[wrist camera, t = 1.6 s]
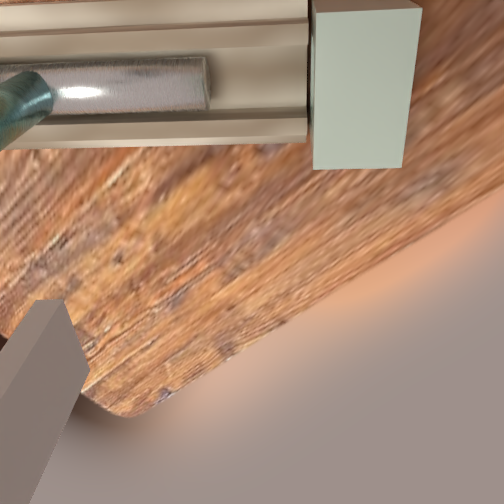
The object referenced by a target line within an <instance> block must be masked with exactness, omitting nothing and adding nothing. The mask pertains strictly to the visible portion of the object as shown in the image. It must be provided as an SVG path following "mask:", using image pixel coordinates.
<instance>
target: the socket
mask: <svg viewBox="0 0 504 504" xmlns="http://www.w3.org/2000/svg"><path fill="white" fill-rule="evenodd" d="M422 9H423V8H422V7H420V6H418V5H417V4H415V3H413V2H412V1H410V0H312V4H311V66H310V128H309V129H310V141H311V152H312V163H313V170H320V169H373V168H401V167H402V160H403V152H404V145H405V137H406V130H407V122H408V114H409V107H410V99H411V92H412V84H413V77H414V69H415V62H416V54H417V47H418V39H419V32H420V24H421V17H422Z"/></svg>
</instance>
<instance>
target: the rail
mask: <svg viewBox="0 0 504 504" xmlns="http://www.w3.org/2000/svg"><path fill="white" fill-rule="evenodd" d="M307 14H308V0H73V1H54V2H34V3H15V4H0V65H11V64H36V63H61V62H86V61H111V60H136V59H161V58H185V57H206V59H207V62H208V66H209V73H210V83H211V102H210V108H209V110H208V111H184V112H151V113H118V114H84V115H51V116H46V117H45V118H44V119H43V120H41V121H40V122H39V123H37V124H36V125H35V126H33V127H32V128H31V129H29V130H28V131H27V132H25V133H24V134H23V135H21V136H20V137H19V138H17V139H16V140H15V141H13V142H12V143H11V144H10V145H8V146H7V147H6V148H4V149H3V150H14V149H56V148H98V147H140V146H182V145H224V144H266V143H306V135H307V108H306V97H307V45H308V29H309V23H308V17H307Z"/></svg>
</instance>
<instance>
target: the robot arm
mask: <svg viewBox="0 0 504 504" xmlns="http://www.w3.org/2000/svg"><path fill="white" fill-rule="evenodd" d="M89 372H90V368H89V365H88V363H87V360H86V358H85V355H84V352H83V350H82V347H81V345H80V342H79V340H78V337H77V334H76V332H75V329H74V327H73V324H72V322H71V319H70V316H69V314H68V311H67V309H66V306H65V304H64V301H63V299H56V300H36V301H35V302H34V304H33V305H32V307H31V308H30V310H29V311H28V313H27V314H26V315H25V317H24V318H23V320H22V321H21V323H20V324H19V326H18V327H17V328H16V330H15V331H14V333H13V334H12V336H11V337H10V338H9V340H8V341H7V343H6V344H5V346H4V347H3V349H2V350H1V352H0V504H29V503H30V500H31V498H32V496H33V494H34V492H35V489H36V487H37V485H38V483H39V481H40V479H41V476H42V474H43V472H44V470H45V468H46V466H47V463H48V461H49V459H50V457H51V454H52V452H53V450H54V448H55V446H56V444H57V441H58V439H59V437H60V435H61V433H62V431H63V428H64V426H65V424H66V422H67V420H68V417H69V415H70V413H71V411H72V409H73V407H74V404H75V402H76V400H77V398H78V395H79V393H80V391H81V389H82V387H83V385H84V382H85V380H86V378H87V376H88V374H89Z"/></svg>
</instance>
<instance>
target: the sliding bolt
mask: <svg viewBox="0 0 504 504" xmlns="http://www.w3.org/2000/svg"><path fill="white" fill-rule="evenodd" d="M210 102H211V83H210V73H209V66H208V62H207V59H206V57H185V58H161V59H136V60H111V61H86V62H61V63H36V64H11V65H0V151H2V150H3V149H4V148H6V147H7V146H8V145H10V144H11V143H12V142H13V141H15V140H16V139H17V138H19V137H20V136H21V135H23V134H24V133H25V132H27V131H28V130H29V129H31V128H32V127H33V126H35V125H36V124H37V123H39V122H40V121H41V120H43V119H44V118H45V117H46V116H51V115H84V114H118V113H151V112H184V111H208V110H209V108H210Z"/></svg>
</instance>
